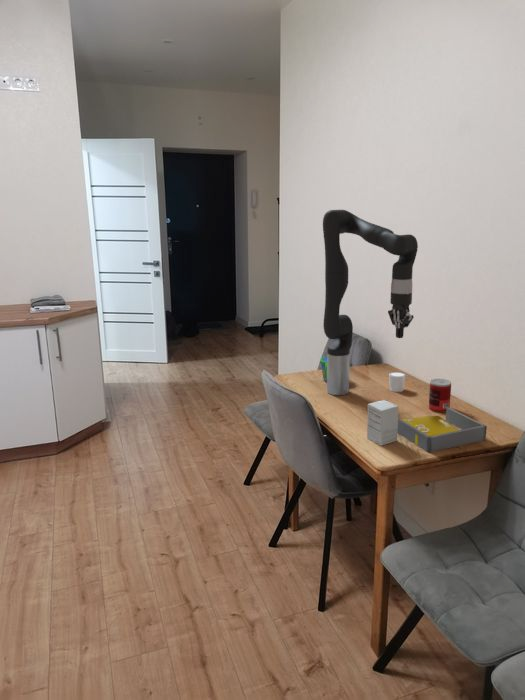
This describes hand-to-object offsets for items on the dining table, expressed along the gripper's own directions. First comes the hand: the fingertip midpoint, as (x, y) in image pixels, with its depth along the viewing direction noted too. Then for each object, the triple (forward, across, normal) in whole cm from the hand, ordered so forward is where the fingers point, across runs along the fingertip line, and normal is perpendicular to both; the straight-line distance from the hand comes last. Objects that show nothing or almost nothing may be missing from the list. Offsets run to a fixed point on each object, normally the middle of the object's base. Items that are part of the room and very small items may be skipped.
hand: (399, 337), depth 192 cm
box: (+29, +25, 0) cm, 38 cm away
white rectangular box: (+29, +20, -20) cm, 40 cm away
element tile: (+30, +24, -3) cm, 38 cm away
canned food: (+29, +5, +16) cm, 34 cm away
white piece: (+29, -20, +14) cm, 38 cm away
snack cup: (+29, -43, -5) cm, 52 cm away
